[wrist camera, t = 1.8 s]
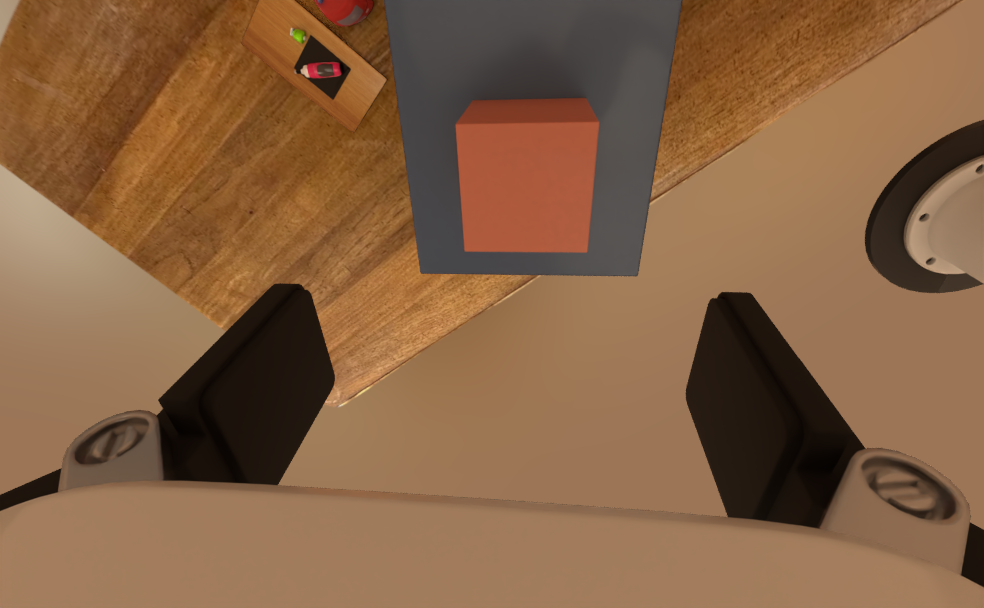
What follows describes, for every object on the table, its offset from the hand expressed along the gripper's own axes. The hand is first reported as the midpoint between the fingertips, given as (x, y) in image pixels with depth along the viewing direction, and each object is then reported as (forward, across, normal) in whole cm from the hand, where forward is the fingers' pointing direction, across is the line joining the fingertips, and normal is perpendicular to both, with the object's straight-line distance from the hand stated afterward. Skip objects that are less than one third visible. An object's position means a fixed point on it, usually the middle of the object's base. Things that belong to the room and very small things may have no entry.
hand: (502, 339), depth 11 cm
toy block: (+15, 0, 0) cm, 15 cm away
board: (+37, +20, -4) cm, 42 cm away
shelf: (+37, 0, 0) cm, 37 cm away
